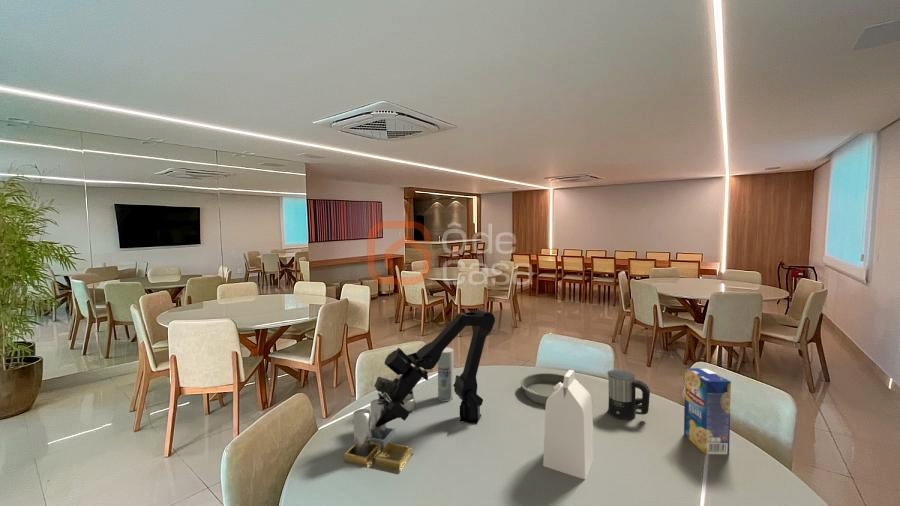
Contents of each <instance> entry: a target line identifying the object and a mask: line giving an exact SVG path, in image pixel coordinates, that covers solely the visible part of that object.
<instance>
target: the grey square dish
mask: <svg viewBox="0 0 900 506" xmlns="http://www.w3.org/2000/svg"><path fill="white" fill-rule="evenodd" d="M370 430H371V428H370ZM386 431H387V436H386V437H385V439H384V440H380V439H375V438H371V443H376V444H380V446H381V447H383V448H384V447H385V446H386V445H387V444H388V443H390V441H391V440H392V439H393V438H394V437H395V435H396V428H393V427H387V426H386Z"/></svg>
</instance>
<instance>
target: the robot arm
mask: <svg viewBox="0 0 900 506" xmlns="http://www.w3.org/2000/svg"><path fill="white" fill-rule="evenodd" d="M495 323H496V317H495V315H494V314H493V313H492V312H489V311H487V310H484V309H480V308H479V309H476V311H467V312H458V313H457V314H456V315H455V317H454V318H453V319H452V320H451V321H450V322H449V324H447V325H446V327H445V328H444V329H442V330H441V332H440V333H439V334H438V335H437V336H436V337H435V339H433V340H432V341H431V342H428V343H427V344H424V345H423V346H422V347H421V348H419V349H418V350H417V351H415V352H414V353H409V354H406V353H405V352H404V351H403V350H402V348H400V347H397V349H395V350H393V351H391V352H390V353H389V354H388V355H387V356H386V357H385V359H384V365H385V366H386V367H387V368H388V369H390V370H391V371H393V373H395V374H396V376H397V375H400V374H402V375H401V376H400V378H399V379H398V378H397V377H395V378H394V379H393V380H390V379H388V378H384V377H381V376H378V377H377V378H376V381H375V384H374V388H375V389H376V391H377V392H378V393H377V395H378V396H377V397H378V399H384V400H385V401H386V404H385V410H384V412H383V413H382V415H381V417H380V418H379V420H378V421H377V423H376V425H375V426H376V427H380V426H382V425H384V424H386V425H387V424H388V423H389V422H392V421H394V420H396V419H402V420H403V421H404V422H405V421H406V420H407V419H408V417H409V416H410V413H409V411H408V410H407V409H406V407H405V406H403V405H404V402H403V401H404V399H405V398H406V397H407V396H408V394H410V395H412V393H413V394H414V391H413V392H412V389H413V390H414V388H415V387H416V386H417V384H418V383H419V382H420V381H421V379H422V378H423V379H424V380H425V381H428V380H429V375H428V374H429V373H428V371H430V370H432V369H434V368H435V367H436V365H438V361H439V359H440V357H441V354H442V352H443V350H444V349H445V348H446V347H448V346H449V345H450V344H451V343H452V341H453V340H454V339H456V337H457V336H458V335H459V334H460V333H461V332H462V331H463V330H464V329H465V327H466V326H467V327H468V326H471V328H472V336H471V340H470V343H469V344H470V345H469V348H468V351H467V356H466V358H465V363H464V367H463V371H462V372H461V374H460V375H457V374H456V376H455V378H454V379H455V381H454V385H453V386H454V393H455V395H457V396H458V398H459V399H460V400H461V401H460V405H459V422H462V423H467V424H468V423H469V424H473V425H477V424H478V423H479V421H480V419H482V418H481V417H482V414H481V406H482V405H483V402H484V399H483V398H482V397H481V396H479V394H478V393H477V392H478V382H477V381H478V380H477V374H478V370H479V366H480V362H481V359H482V354H483V351H484V350H483V349H484V346H485V343H486V339H487V336H488V335H489V334H490V333H491V332H492V330H493V328H494V325H495ZM421 368H422V369H421Z"/></svg>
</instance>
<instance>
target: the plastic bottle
mask: <svg viewBox="0 0 900 506" xmlns="http://www.w3.org/2000/svg"><path fill="white" fill-rule="evenodd" d="M401 375H402V374H400V375H397V374H396V378H398V379H399V378H400V376H401ZM412 392H413V393H412V395H410V394H408V396H407V397H406V398H405V399H404V401H403V402H404V405H403V406H405V407H406V409H407V410H408V411H409V412H412V411H413V410H414V408H416V407H415V406H416V400H415V397H414V396H415V395H414V388H413V389H412Z"/></svg>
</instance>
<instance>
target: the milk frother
mask: <svg viewBox="0 0 900 506" xmlns="http://www.w3.org/2000/svg"><path fill="white" fill-rule="evenodd" d="M607 376H608V377H607V378H608V407H607V408H608V409H607V413H608V415H610V416H612V417H614V418H617V419H620V420H632V419H634V418H635V417H636V411H637V410H640V409H641V410H640V411H641V414H642V415H647V414H648V413H649V408H650V398H651V397H650V396H651V395H650V394H651V393H650V388H649V386H648V385H647V384H646V383H645V382H643V381H641V380H638V379H635V377H636V375H635V374H634V373H633V372H631V371H627V370H621V369H611V370H608V371H607ZM637 388H638V389H639V390H640V391H641V393H642V395H641V396H642V397H641V398H639V397H638V398H636V389H637Z"/></svg>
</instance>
